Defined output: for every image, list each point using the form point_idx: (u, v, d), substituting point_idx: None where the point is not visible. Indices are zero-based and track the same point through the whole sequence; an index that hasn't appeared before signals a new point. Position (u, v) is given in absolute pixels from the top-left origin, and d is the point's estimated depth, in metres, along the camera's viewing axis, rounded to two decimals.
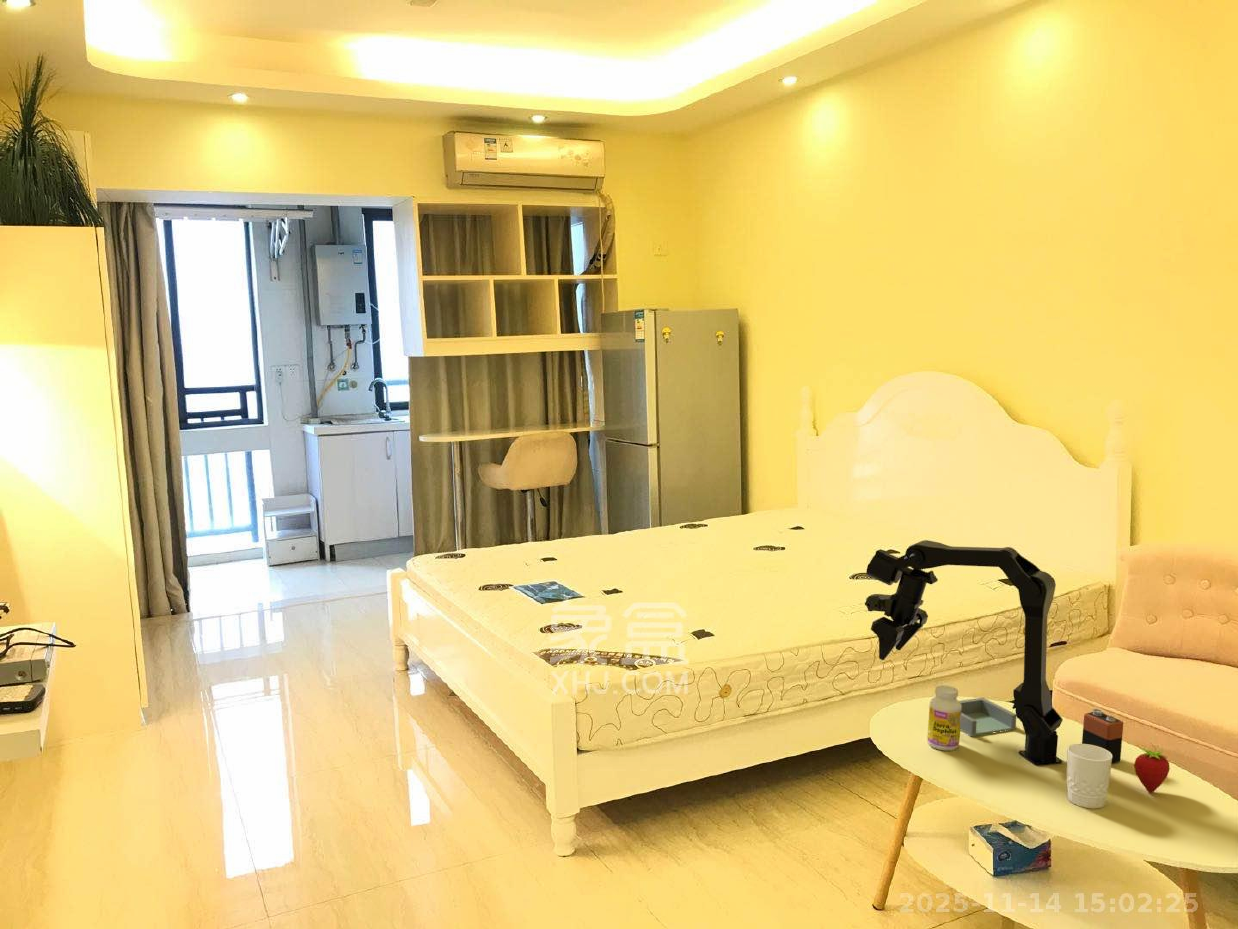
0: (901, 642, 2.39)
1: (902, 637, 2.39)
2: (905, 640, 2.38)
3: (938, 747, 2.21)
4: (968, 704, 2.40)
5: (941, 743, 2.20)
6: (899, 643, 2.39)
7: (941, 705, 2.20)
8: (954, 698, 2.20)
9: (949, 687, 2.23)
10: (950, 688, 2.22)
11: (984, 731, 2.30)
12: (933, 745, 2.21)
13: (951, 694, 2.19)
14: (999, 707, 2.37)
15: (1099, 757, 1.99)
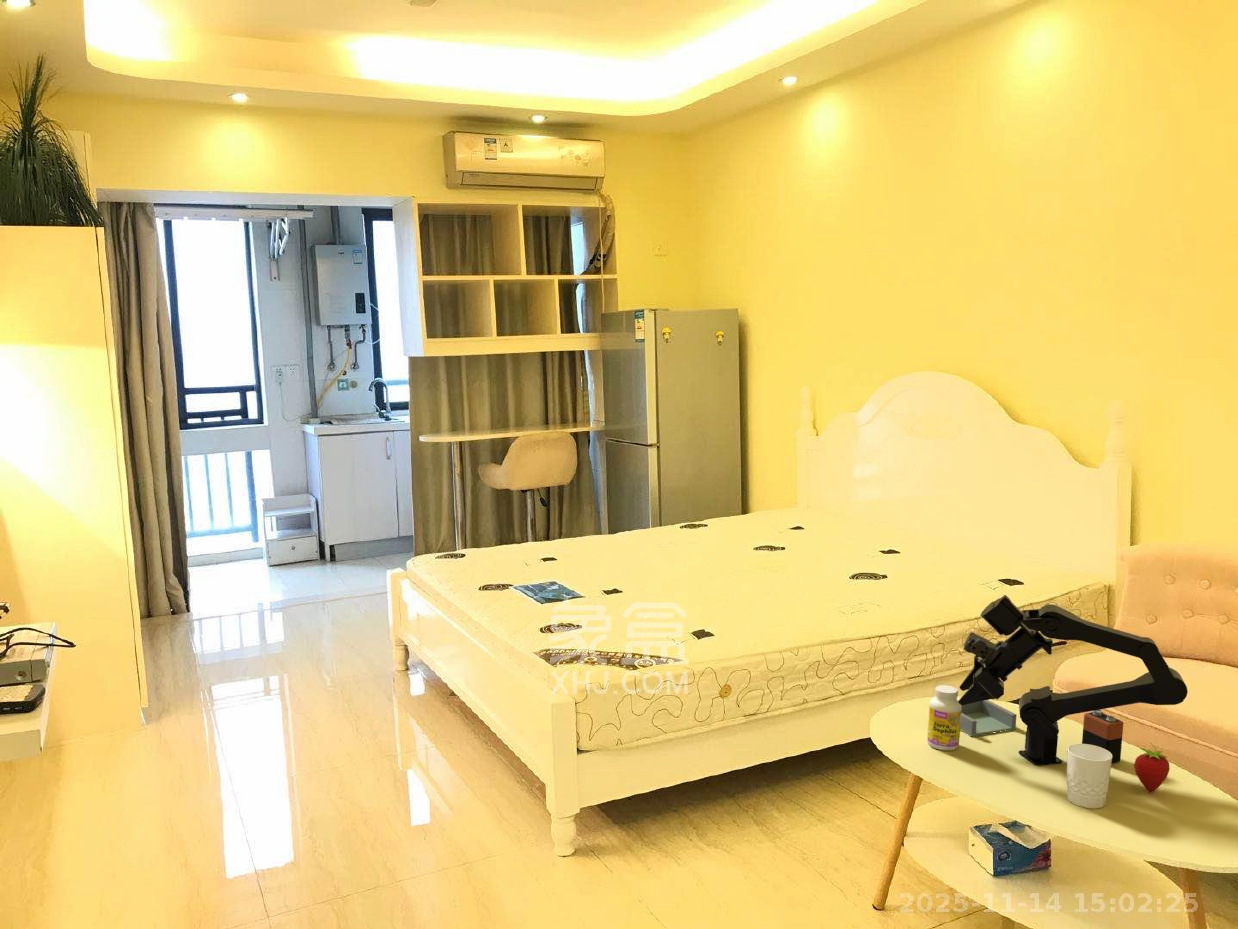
0: (969, 684, 2.25)
1: (972, 680, 2.24)
2: None
3: (938, 747, 2.21)
4: (968, 704, 2.40)
5: (941, 743, 2.20)
6: (966, 684, 2.25)
7: (941, 705, 2.20)
8: (954, 698, 2.20)
9: (949, 687, 2.23)
10: (950, 688, 2.22)
11: (984, 731, 2.30)
12: (933, 745, 2.21)
13: (951, 694, 2.19)
14: (999, 707, 2.37)
15: (1099, 757, 1.99)
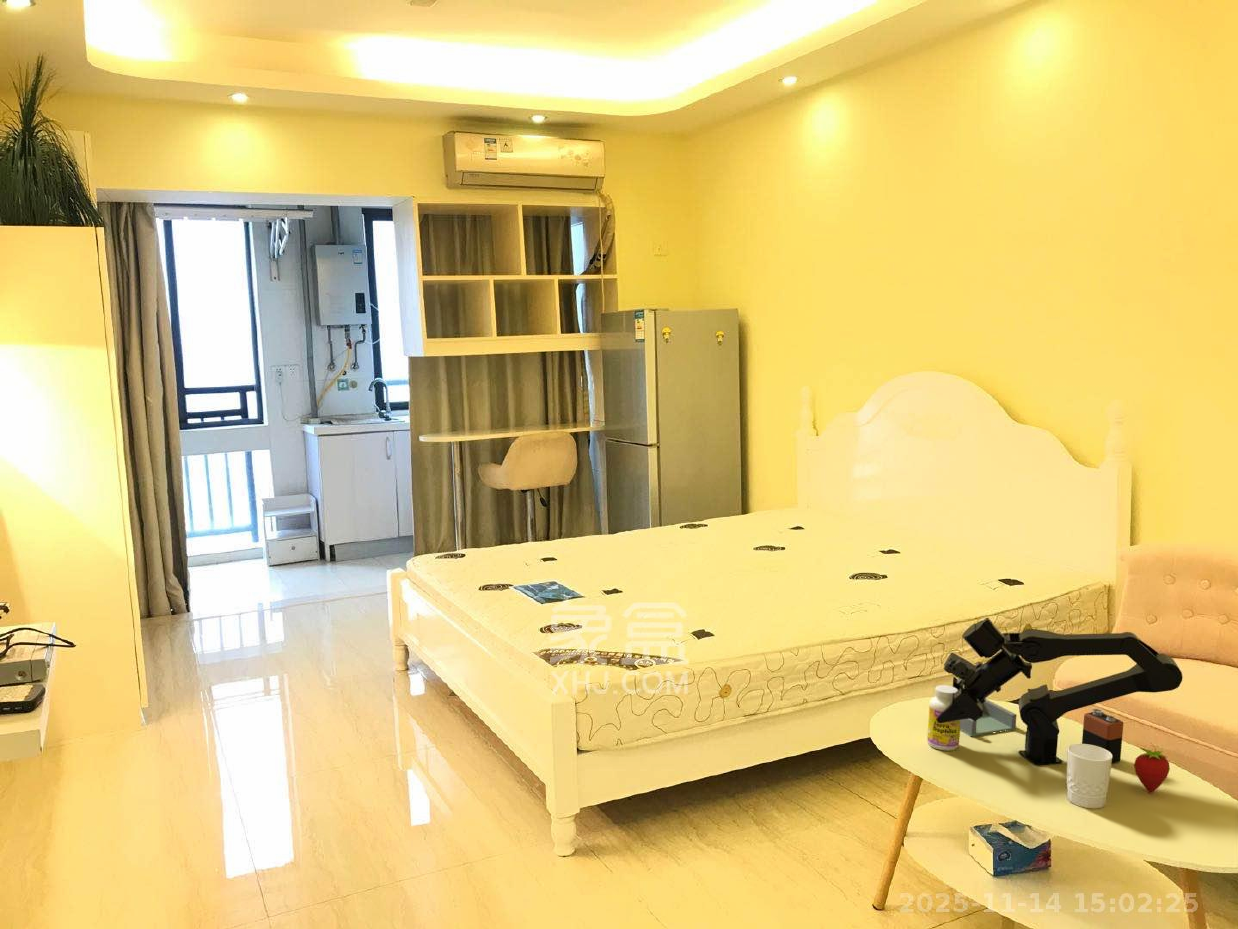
0: None
1: None
2: None
3: (938, 747, 2.21)
4: None
5: (941, 743, 2.20)
6: None
7: (941, 705, 2.20)
8: None
9: (949, 687, 2.23)
10: (950, 688, 2.22)
11: (984, 731, 2.30)
12: (933, 745, 2.21)
13: (951, 694, 2.19)
14: (999, 707, 2.37)
15: (1099, 757, 1.99)
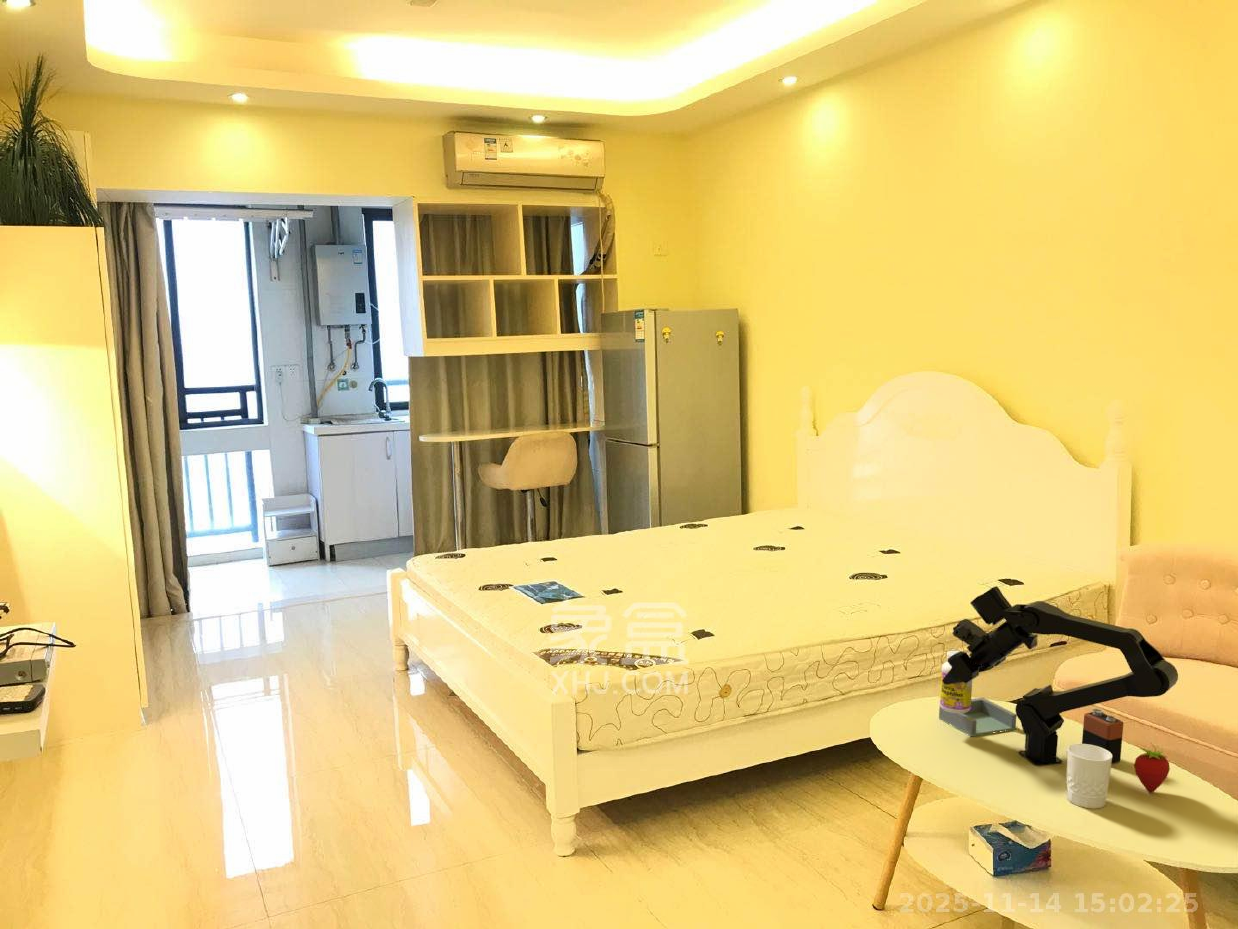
0: None
1: None
2: None
3: (945, 708, 2.28)
4: None
5: (947, 705, 2.27)
6: None
7: (948, 668, 2.27)
8: None
9: None
10: None
11: (984, 731, 2.30)
12: (941, 706, 2.29)
13: None
14: (999, 707, 2.37)
15: (1099, 757, 1.99)
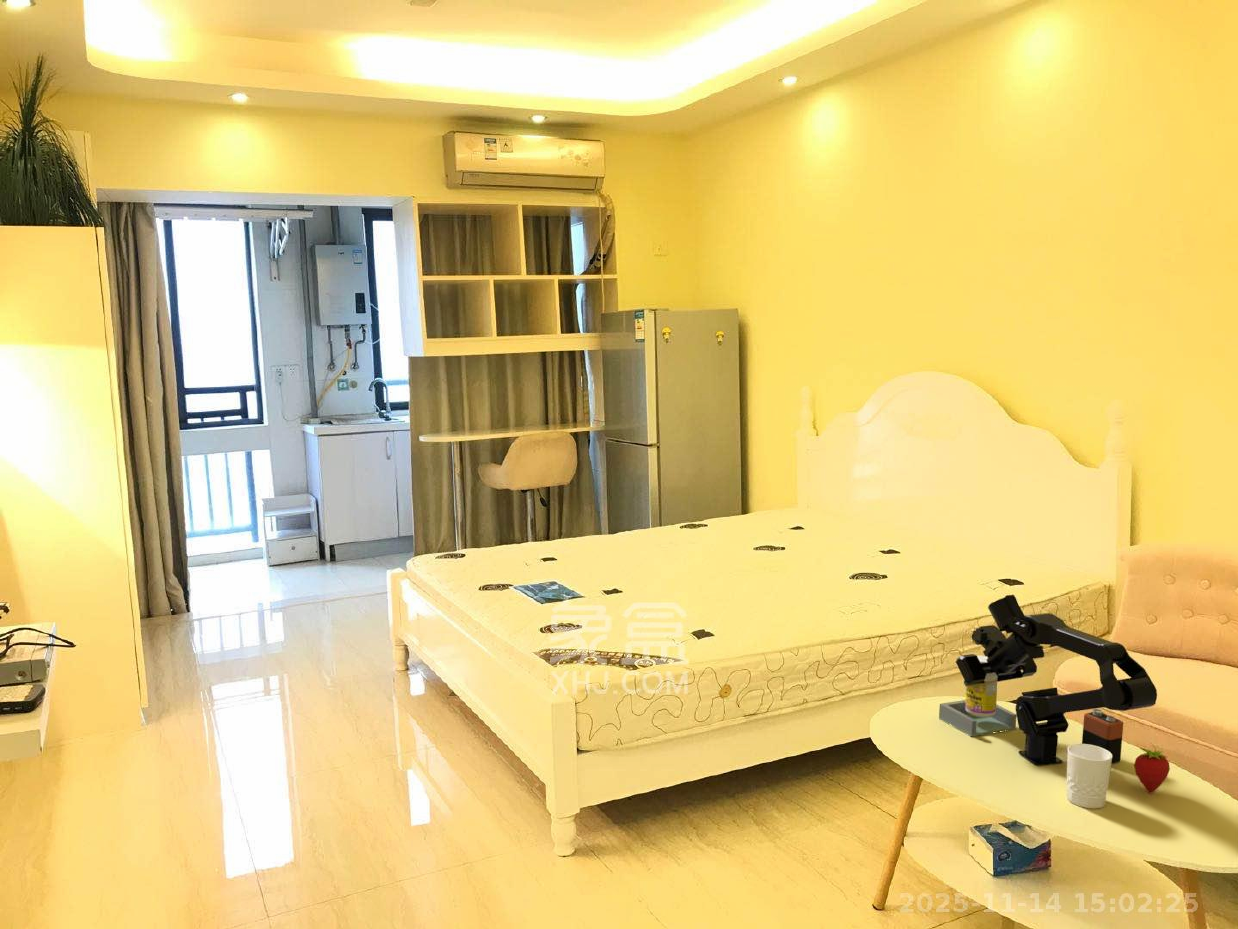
0: None
1: None
2: (999, 679, 2.33)
3: (966, 710, 2.34)
4: None
5: (967, 707, 2.33)
6: None
7: None
8: None
9: None
10: None
11: (984, 731, 2.30)
12: (965, 708, 2.35)
13: None
14: (999, 707, 2.37)
15: (1099, 757, 1.99)
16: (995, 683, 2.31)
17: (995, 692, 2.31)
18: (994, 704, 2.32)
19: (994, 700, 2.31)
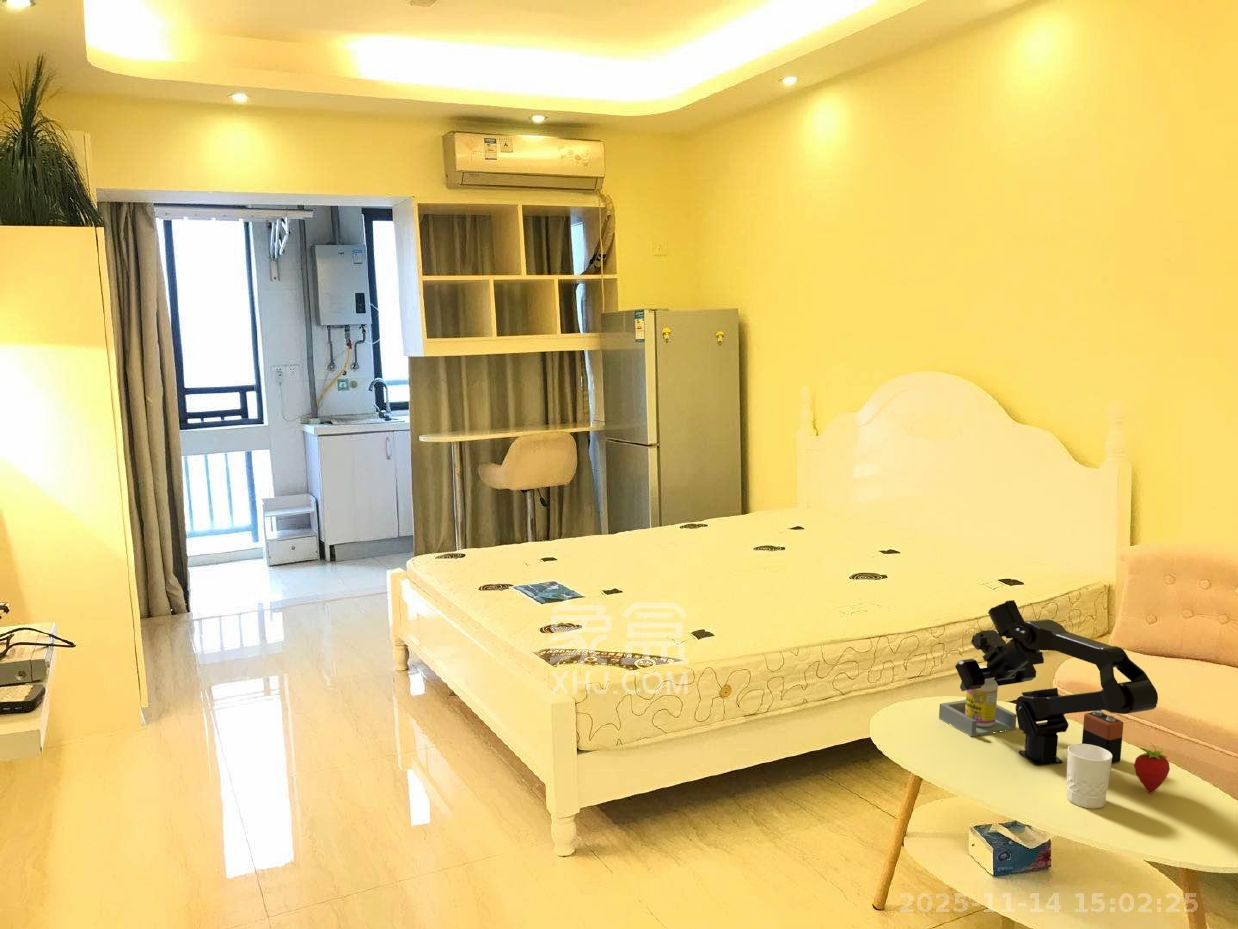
0: (997, 682, 2.35)
1: None
2: (1001, 683, 2.34)
3: None
4: None
5: None
6: None
7: None
8: None
9: None
10: None
11: (984, 731, 2.30)
12: None
13: None
14: (999, 707, 2.37)
15: (1099, 757, 1.99)
16: (995, 693, 2.31)
17: (995, 702, 2.32)
18: (994, 714, 2.32)
19: (994, 710, 2.32)
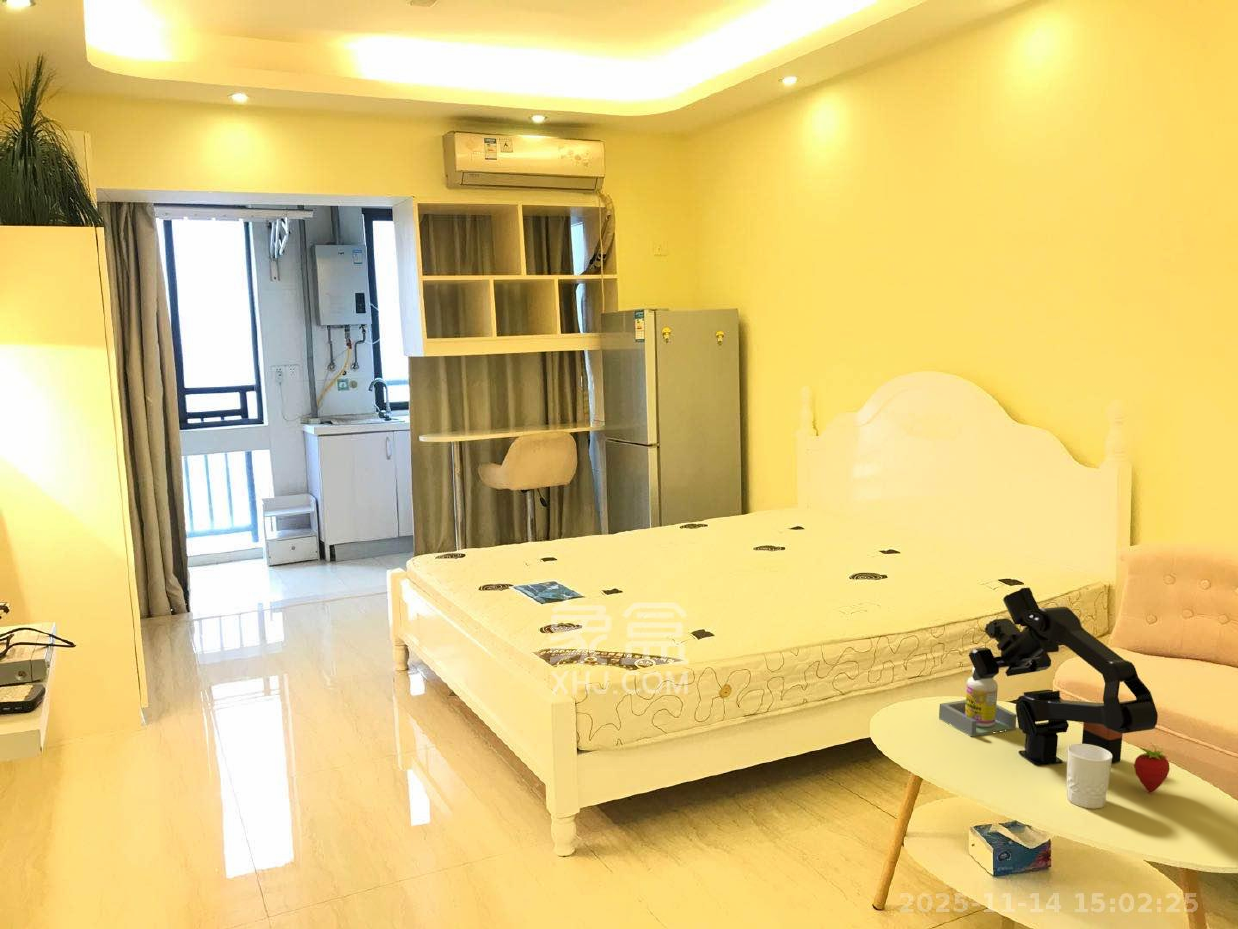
0: (1012, 671, 2.31)
1: None
2: (1016, 672, 2.30)
3: None
4: None
5: None
6: (1010, 671, 2.31)
7: (970, 681, 2.33)
8: None
9: None
10: None
11: (984, 731, 2.30)
12: None
13: None
14: (999, 707, 2.37)
15: (1099, 757, 1.99)
16: (995, 693, 2.31)
17: (995, 702, 2.32)
18: (994, 714, 2.32)
19: (994, 710, 2.32)
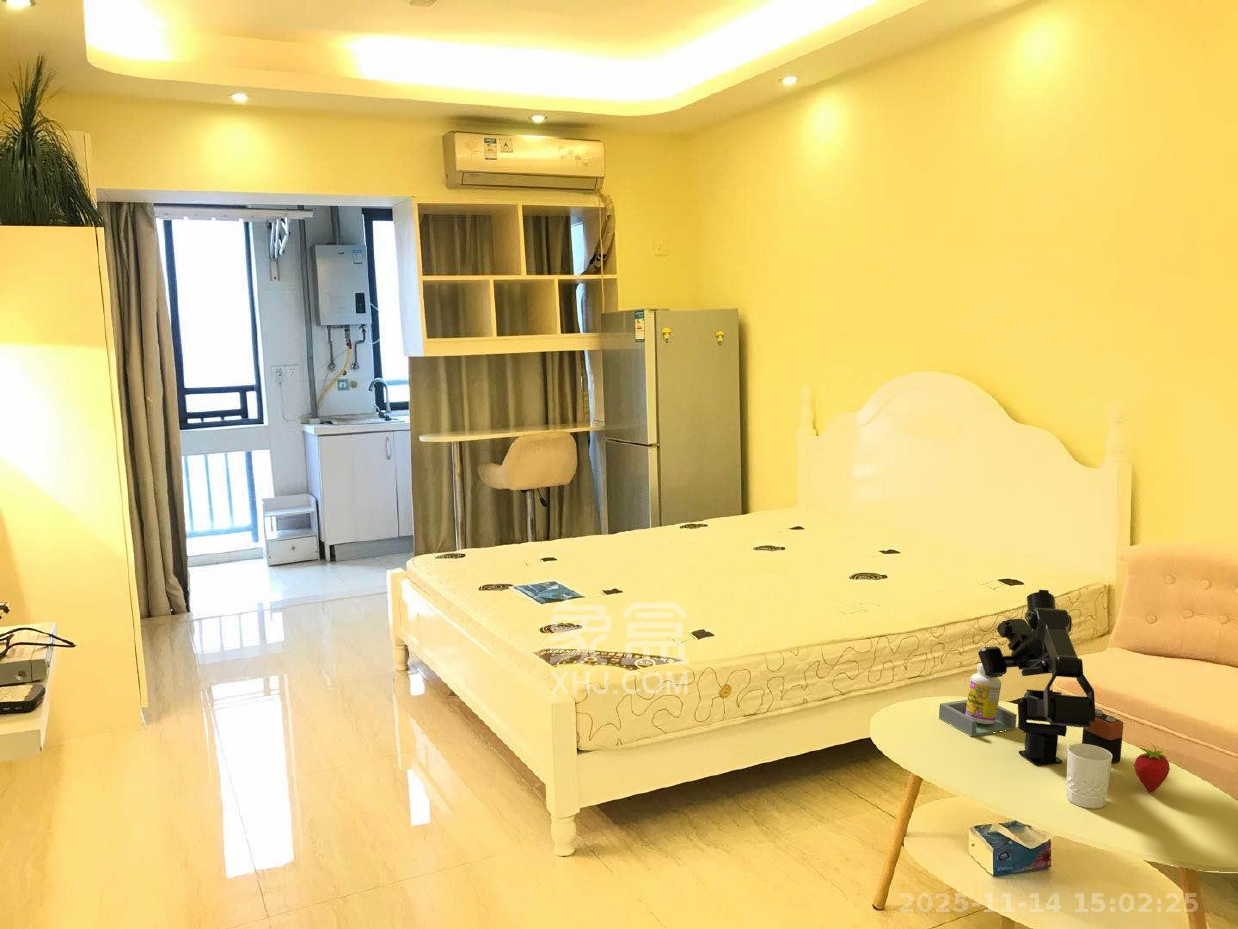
0: (1027, 671, 2.32)
1: (1029, 668, 2.31)
2: (1031, 673, 2.31)
3: None
4: None
5: (968, 712, 2.34)
6: (1025, 671, 2.33)
7: (974, 676, 2.34)
8: None
9: None
10: None
11: (984, 731, 2.30)
12: (965, 714, 2.36)
13: None
14: (999, 707, 2.37)
15: (1099, 757, 1.99)
16: (998, 691, 2.32)
17: (997, 700, 2.32)
18: (995, 712, 2.32)
19: (995, 708, 2.32)
